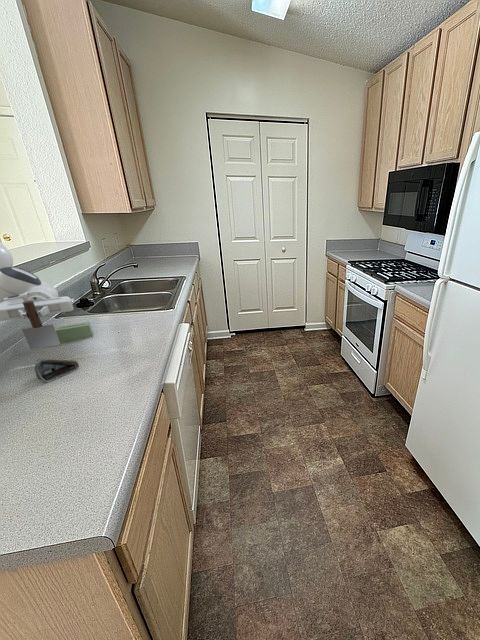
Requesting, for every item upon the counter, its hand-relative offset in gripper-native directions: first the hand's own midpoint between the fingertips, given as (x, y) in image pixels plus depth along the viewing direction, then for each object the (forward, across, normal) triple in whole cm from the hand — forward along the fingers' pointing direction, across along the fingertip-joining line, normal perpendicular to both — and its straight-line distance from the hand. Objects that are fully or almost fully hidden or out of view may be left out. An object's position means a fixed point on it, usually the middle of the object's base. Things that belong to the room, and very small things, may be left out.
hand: (32, 315), depth 101 cm
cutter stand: (-31, -4, -21) cm, 37 cm away
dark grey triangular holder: (-1, 0, -21) cm, 21 cm away
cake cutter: (-1, 0, -11) cm, 11 cm away
